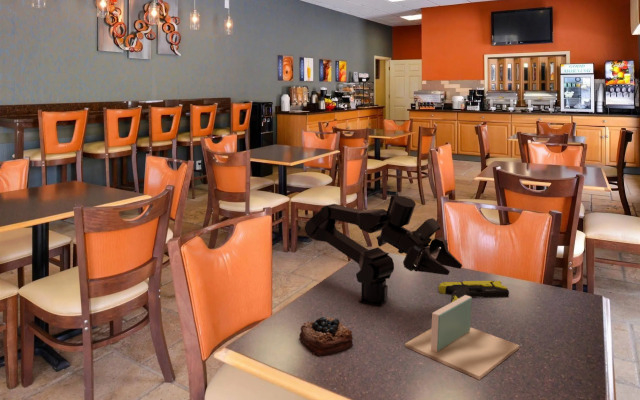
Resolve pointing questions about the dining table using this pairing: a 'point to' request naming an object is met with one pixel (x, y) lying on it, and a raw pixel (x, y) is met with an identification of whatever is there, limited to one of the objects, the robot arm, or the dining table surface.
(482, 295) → the stun gun
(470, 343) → the board
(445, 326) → the tile
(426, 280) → the dining table surface
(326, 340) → the pastry
